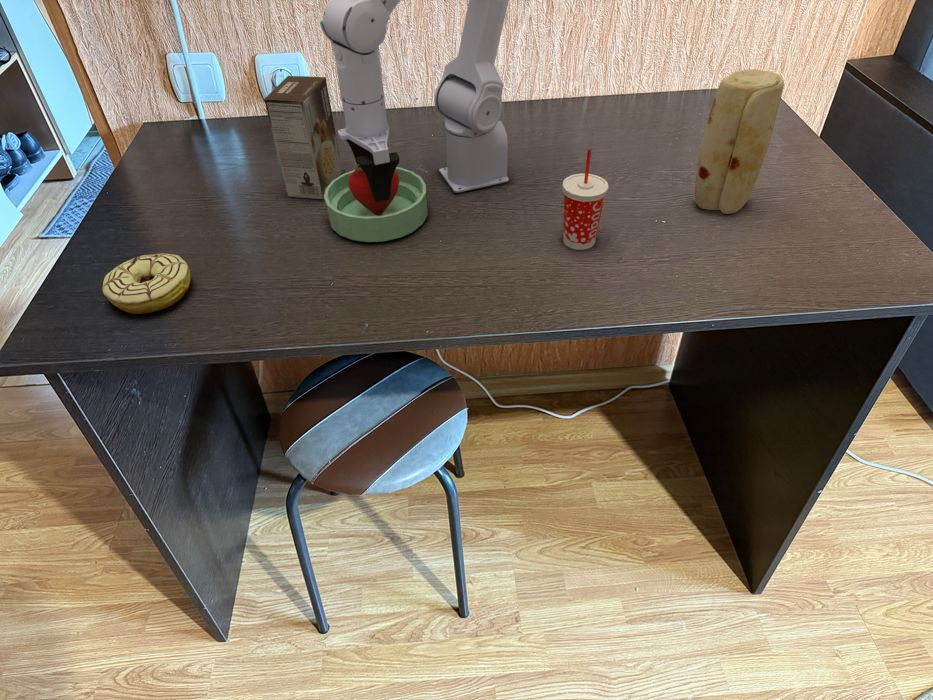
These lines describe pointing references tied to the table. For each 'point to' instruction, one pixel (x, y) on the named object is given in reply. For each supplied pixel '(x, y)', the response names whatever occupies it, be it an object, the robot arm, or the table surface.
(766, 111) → the food model
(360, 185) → the strawberry
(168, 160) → the table surface
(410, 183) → the mint green dish
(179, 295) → the decorated donut
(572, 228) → the beverage cup
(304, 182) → the coffee box
